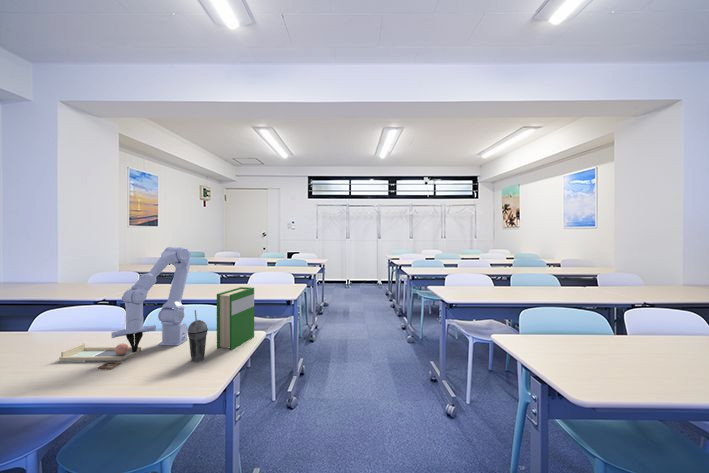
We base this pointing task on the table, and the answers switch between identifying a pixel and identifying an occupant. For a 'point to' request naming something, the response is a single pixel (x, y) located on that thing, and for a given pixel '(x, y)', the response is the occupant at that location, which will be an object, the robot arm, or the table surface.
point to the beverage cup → (197, 339)
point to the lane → (94, 354)
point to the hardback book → (235, 317)
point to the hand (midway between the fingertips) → (134, 351)
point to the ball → (121, 349)
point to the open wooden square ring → (105, 366)
